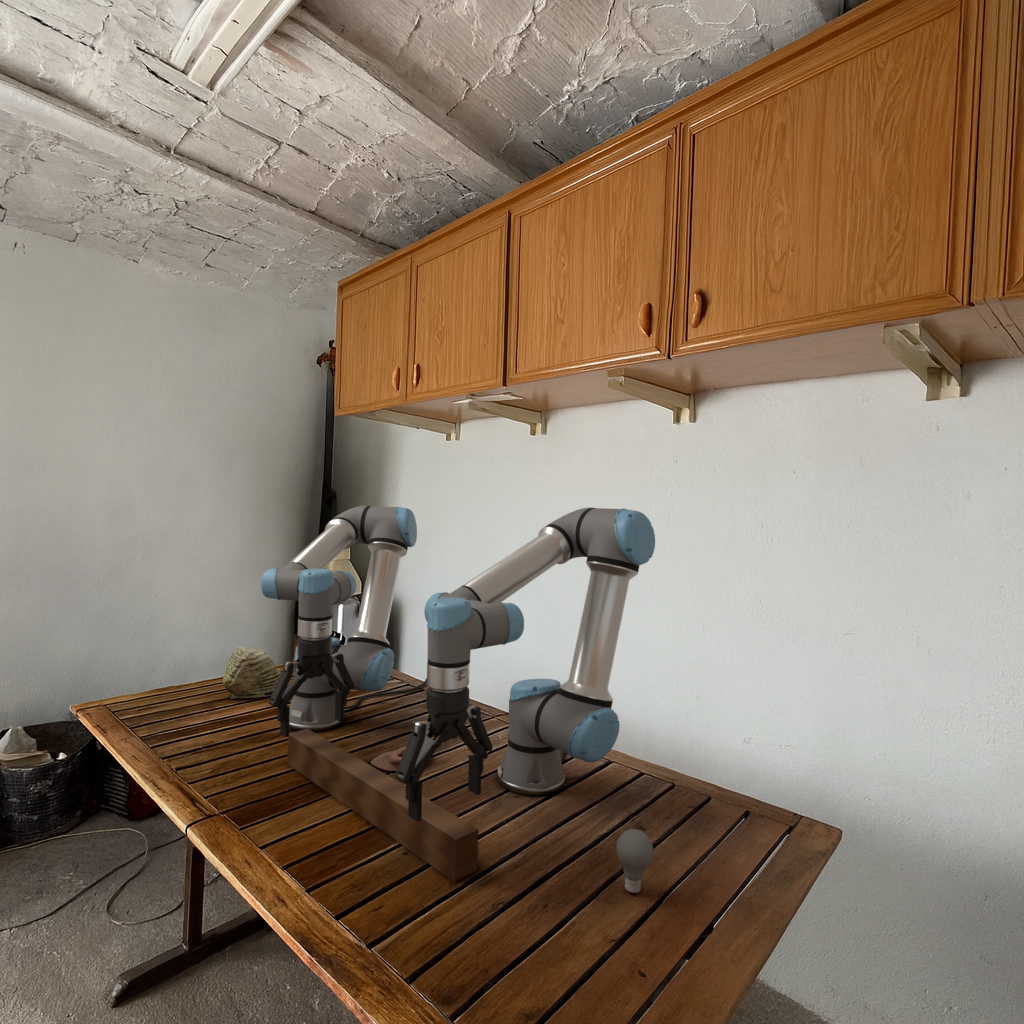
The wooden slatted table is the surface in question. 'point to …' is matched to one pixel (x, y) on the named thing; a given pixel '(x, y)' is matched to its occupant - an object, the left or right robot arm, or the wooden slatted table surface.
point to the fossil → (250, 674)
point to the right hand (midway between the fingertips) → (445, 804)
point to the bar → (386, 804)
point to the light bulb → (634, 857)
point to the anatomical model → (389, 760)
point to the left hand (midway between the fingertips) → (312, 727)
